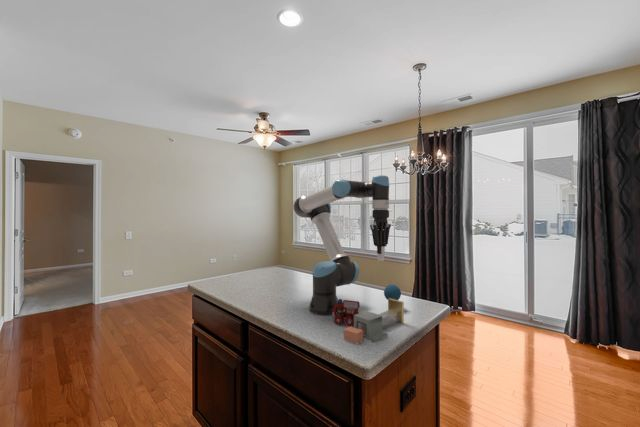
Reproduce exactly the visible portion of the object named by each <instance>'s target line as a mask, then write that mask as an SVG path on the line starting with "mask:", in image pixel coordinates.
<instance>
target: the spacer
mask: <svg viewBox="0 0 640 427" xmlns="http://www.w3.org/2000/svg"><path fill="white" fill-rule="evenodd" d="M343 339H345V341H347V340H348V341H347V342H350V341H351V342H350V343H353V342H354V343H353V344H355V343H358V344H360V343H362V342H363V341H364V336H363V330H360V329H357V328H354V326H352V327H351V326H350V327H349V326H347V327H346V328H344V329H343ZM361 341H362V342H361ZM359 342H360V343H359Z"/></svg>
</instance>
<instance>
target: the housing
mask: <svg viewBox="0 0 640 427" xmlns="http://www.w3.org/2000/svg"><path fill="white" fill-rule="evenodd" d="M358 322H361V323H364V324H366V337H365V338H366V340H370V341H372V342H377V341H380V340H381V339H384V338H386V337H388V333H387V332H384V331H383V329H382V316H381V315H378V313H375V312H371V311H368V310H364V311H362V312H359V314H356V315H354V325H353V327H354V328H357V329H358Z"/></svg>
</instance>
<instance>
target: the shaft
mask: <svg viewBox="0 0 640 427" xmlns="http://www.w3.org/2000/svg"><path fill="white" fill-rule="evenodd" d="M404 305H405V303H404V301H403V300H400V299H399V300H395V299H391V298H390V299H388V300H387V308H388V309H387V310H386V311H384V312H380V313H379V314H378V313H377V314H378V315H381V316H382V330H384V329H386V328H389V327H391V326H393V325H395V324H398V323H400V324H403V323H404V322H405V321H404V320H405V318H404V317H405V316H404V315H405V313H404V312H405V310H404V309H405V306H404ZM358 329H360V330H363V337H365V338H366V324H364V323H361V322H358Z"/></svg>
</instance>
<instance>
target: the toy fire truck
mask: <svg viewBox="0 0 640 427" xmlns="http://www.w3.org/2000/svg"><path fill="white" fill-rule="evenodd" d="M338 306H339V307H338ZM337 307H338V308H337ZM359 310H360V301H357V300H350V299H349V300H348V299H344V300H342V299H341V298H339V299H338V302H337V303H336V304H335V306H334V308H333V310H332V314H331V317H332V319H333V321H334V323H335V324H336V325H337V326H340V325H342V324H344V323H345V325H346V326H347V327H350V326H351V327H354V315H356V314H359V313H360V312H359ZM337 311H338V312H337ZM336 312H337V313H336Z"/></svg>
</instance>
